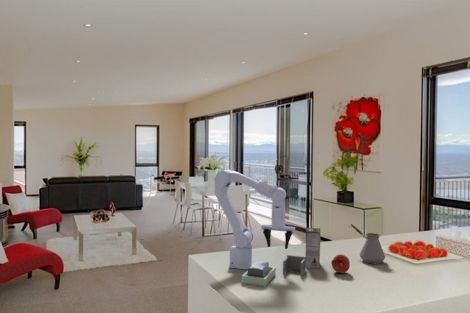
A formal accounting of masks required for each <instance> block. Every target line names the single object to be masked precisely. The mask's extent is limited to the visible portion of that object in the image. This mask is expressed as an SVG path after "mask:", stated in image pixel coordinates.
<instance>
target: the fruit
mask: <svg viewBox="0 0 470 313" xmlns="http://www.w3.org/2000/svg"><path fill="white" fill-rule="evenodd" d="M330 264H331V267H332V269H333V270H334V271H335V273H339V274H345V273H347V272H348V271H349V270H350V266H351V264H350V258H349V257H348V256H347V255H345V254H337V255H335V256H334V257H333V259H332V261H331V263H330Z"/></svg>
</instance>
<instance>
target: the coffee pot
mask: <svg viewBox="0 0 470 313" xmlns="http://www.w3.org/2000/svg"><path fill="white" fill-rule="evenodd" d="M348 227H349V228H350V229H351V228H353V229H354V230H355V231H356V232H357V233H358V234H360V235H361V236H362V237H363V238H365V239H366V240H365V242H364V245H363V246H362V248H361V250H360V252H359V256H360V259H361V260H362V261H363V262H364V263H366V264H371V265H380V264H381V263H382V262H383V261H384V260H385V259H386V255H385V252H384V250H383V248H382V245H381V242H380V240H379V238H380V237H381V234H380V233H374V232H370V233H369V232H367V233H365V234H363V231H361V230H360V229H359V228H357V227H356V226H355V225H353V224H350V225H349V226H348Z"/></svg>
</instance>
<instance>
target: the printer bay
mask: <svg viewBox="0 0 470 313" xmlns="http://www.w3.org/2000/svg"><path fill="white" fill-rule="evenodd" d="M306 268H307V267H306V257H305V256H303V255H302V256H301V255H293V254H287V255H286V257H285V258H284V260H283V261H282V274H283V275H285V274H286V273H287V272H288V271H289V270H291V271H299V274H300V275H299V276H300V277H303V276H304V274H305V272H306Z"/></svg>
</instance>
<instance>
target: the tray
mask: <svg viewBox="0 0 470 313" xmlns="http://www.w3.org/2000/svg"><path fill="white" fill-rule="evenodd" d="M276 270H277V269H276V267H274V266H269V273H268V274H267V276H266V277H265V278H261V277H253V276H248V270H246V271H245V272H244V273H243V274H242V275H241V284H244V285H251V286H260V287H267V285H268V284H269V283H271V281H272V279H274V277H275V276H276V275H277V274H276V272H277V271H276Z"/></svg>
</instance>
